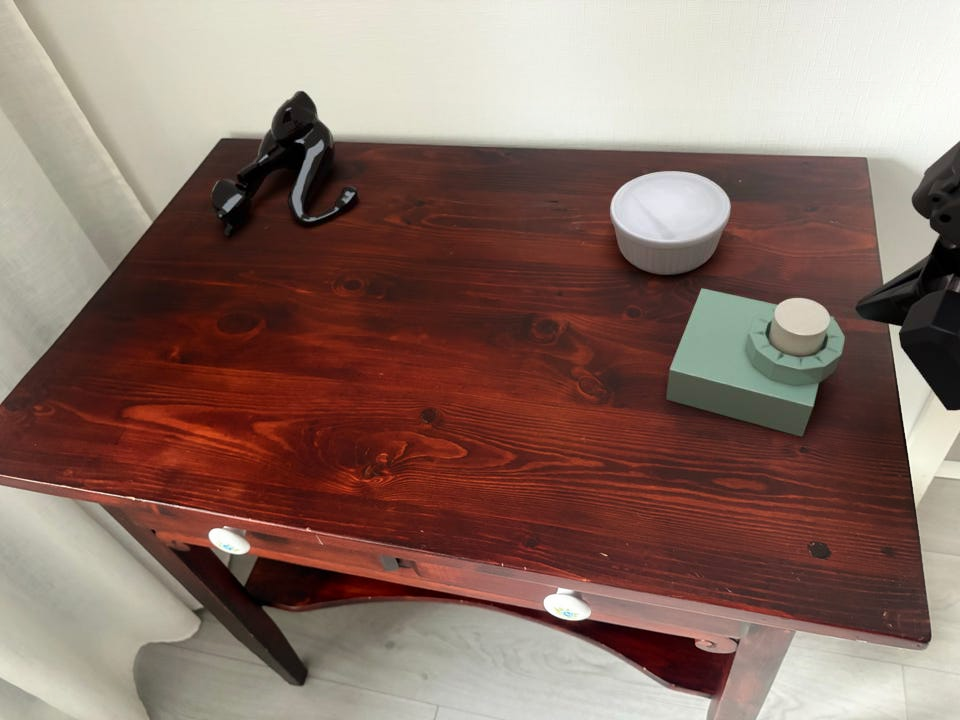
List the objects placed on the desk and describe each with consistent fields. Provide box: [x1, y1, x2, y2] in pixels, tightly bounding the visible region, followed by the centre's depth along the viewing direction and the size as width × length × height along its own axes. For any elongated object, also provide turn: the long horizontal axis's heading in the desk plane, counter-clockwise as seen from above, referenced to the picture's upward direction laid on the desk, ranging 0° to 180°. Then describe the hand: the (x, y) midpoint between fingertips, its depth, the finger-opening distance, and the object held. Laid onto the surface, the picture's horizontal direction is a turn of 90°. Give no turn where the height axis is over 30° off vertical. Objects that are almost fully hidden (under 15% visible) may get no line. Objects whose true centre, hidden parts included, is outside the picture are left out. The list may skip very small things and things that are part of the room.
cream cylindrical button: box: [769, 297, 831, 357], centre depth 58 cm, size 4×4×2 cm
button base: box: [665, 287, 846, 438], centre depth 62 cm, size 12×10×6 cm
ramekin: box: [609, 170, 732, 276], centre depth 74 cm, size 11×11×5 cm
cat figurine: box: [210, 90, 359, 238], centre depth 87 cm, size 10×14×18 cm
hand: (859, 309), depth 54 cm, fingers closed
